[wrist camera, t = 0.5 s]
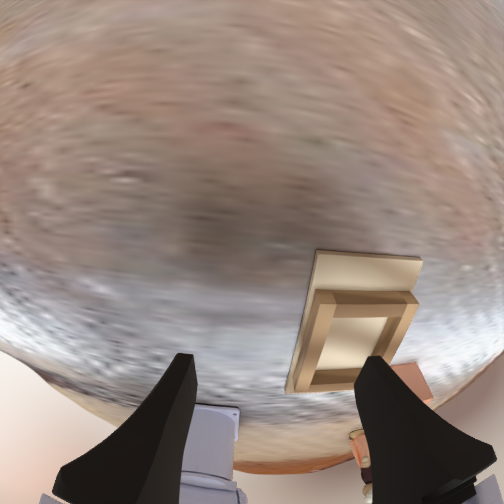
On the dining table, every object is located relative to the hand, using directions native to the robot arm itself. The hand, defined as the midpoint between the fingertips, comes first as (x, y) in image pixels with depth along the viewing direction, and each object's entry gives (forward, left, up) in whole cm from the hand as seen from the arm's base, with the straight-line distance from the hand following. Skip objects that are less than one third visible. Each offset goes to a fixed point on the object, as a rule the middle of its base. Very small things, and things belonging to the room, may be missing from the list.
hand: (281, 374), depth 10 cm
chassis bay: (-7, -8, -10) cm, 14 cm away
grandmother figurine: (-30, -18, -10) cm, 36 cm away
